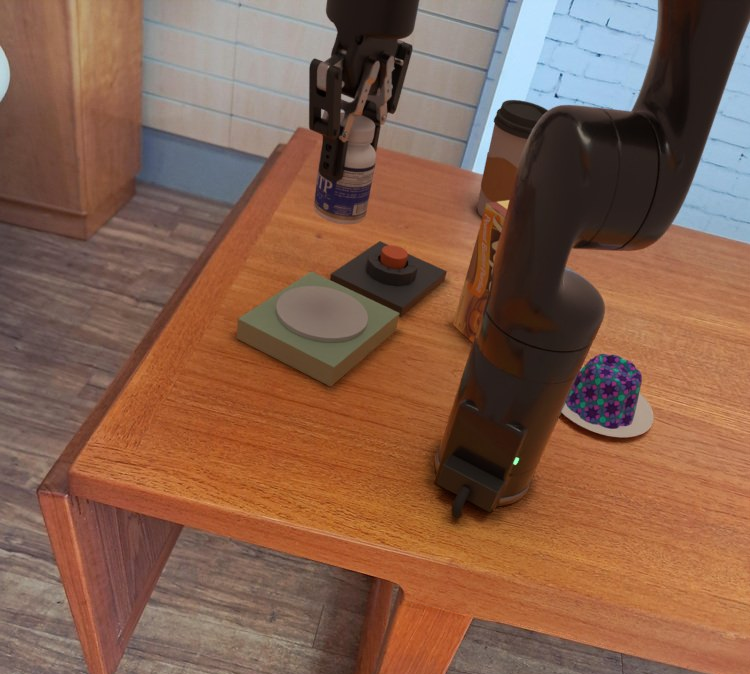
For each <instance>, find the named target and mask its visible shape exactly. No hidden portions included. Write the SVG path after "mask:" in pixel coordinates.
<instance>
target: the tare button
mask: <svg viewBox="0 0 750 674" xmlns="http://www.w3.org/2000/svg"><path fill="white" fill-rule="evenodd" d="M408 254H409V253H408V251H407V250H406V249H404V248H403V247H401V246H398V245H391V244H388V246H385V247H383V248H382V252H381V257H380V263H381V264H382V265H384V266H386V267H389V268H394V269H402V268H405V266H406V261H407V257H408Z"/></svg>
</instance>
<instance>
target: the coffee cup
mask: <svg viewBox="0 0 750 674" xmlns="http://www.w3.org/2000/svg"><path fill="white" fill-rule="evenodd" d="M501 103H502V104H501V106H500V108H498V109H497V111H496V114H495V116H494V118H493V123H494V124H493V125H494V126H493V128H492V134H491V138H490V142H489V147H488V151H487V154H486V159H485V164H484V169H483V173H482V177H481V182H480V189H479V195H478V198H477V204H476V208H477V213H478V215H479V216H480V217H482V218H483V214H484V211H485V207H486V204H487V203H492V202H499V201H506V200H510V196H511V192H512V188H513V184H514V180H515V176H516V172H517V169H518V165H519V162H520V158H521V155H522V153H523V150H524V147H525V144H526V142H527V140H528V138H529V135H530V133H531V131H532V129H533V128H534V126H535V125H536V123H537V122H538V120H539V119H540V118H541V117H542V116H543V115H544V114H545V113H546V112H547V111H548V110H549V109H547V108H545V107H543V106H541V105H539V104H536V103H534V102H530V101H525V100H520V99H507V100H504V101H503V102H501Z"/></svg>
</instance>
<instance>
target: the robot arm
mask: <svg viewBox="0 0 750 674" xmlns="http://www.w3.org/2000/svg"><path fill="white" fill-rule="evenodd" d="M419 5H420V0H326V5H325V15H326V17H327V19H328V20H329V21H330V22H331V23H333V26H334V27H335V29H336V37H335V40H334V44H333V47H332V48H331V52H330V57H329V58H328V59H326V60H325V61H323V60H320V59H318V58H313V59H312V60H311V61H310V63H309V68H308V129H309V130H310V131H311V132H314V133H317V134H319V135H321V136H322V144H321V147H322V150H321V149H320V153H321V158H320V157H319V161H320V165H319V164H318V169H319V173H320V175H321V176H322V177H324V178H327V179H329V180H331V181H333V182H337V181H339V180H341V179H342V178H343V172H344V166H345V159H346V153H347V146H348V141H347V139H348V137H349V134H350V131H351V128H352V125H353V122H354V119H355V117H357V116H360V115H362V116H365V117H367V118H369V119H370V120H372V121H373V122H374V124H375V131H374V138H373V141H372V143H370V145H371V146H372V147H373V148H374V150H375V152H376V153H377V151H378V150H377V149H378V146H379V145H378V144H379V139H380V133H381V127H382V126H383V125H384V124H386V122H387V119H388V114H391V115H394V114H395V113H396V111H397V109H398V105H399V101H400V98H401V94H402V91H403V86H404V83H405V79H406V76H407V72H408V69H409V65H410V61H411V58H412V54H413V47H414V46H413V44H410V43H408V42H406V41H403V40H402V39H407V38H409V36H411V35H412V34H413V32H414V31H415V30H414V29H415V26H416V21H417V16H418V10H419ZM656 18H657V19H656V30H655V35H654V40H653V45H652V50H651V54H650V58H649V63H648V65H647V69H646V73H645V75H644V79H643V82H642V85H641V87H640V90H639V92H638V96H637V98H636V101H635V103H634V105H633V107H632V109H631V110H623V109H613V108H606V107H595V106H587V105H577V104H561V105H560V104H559V105H556V106H554V107H551V108H549V109H547V110H548V111H547V112H546V113H545V114H544V115H543V116H542V117H541V118H540V119H539V120H538V122H537V123H536V125H535V126H534V128H533V129H532V131H531V133H530V135H529V138H528V140H527V142H526V144H525V147H524V150H523V153H522V155H521V158H520V162H519V165H518V169H517V172H516V176H515V180H514V184H513V188H512V192H511V196H510V200H509V204H508V208H507V212H506V216H505V220H504V224H503V227H502V231H501V235H500V238H499V242H498V245H497V249H496V253H495V257H494V263H493V272H492V280H491V286H490V291H489V294H488V297H487V300H486V304H485V307H484V310H483V313H482V316H481V319H480V323H479V326H478V329H477V332H476V334H475V338H474V341H473V343H472V344H471V347H470V351H469V354H468V357H467V359H466V363H465V366H464V369H463V372H462V375H461V379H460V381H459V385H458V388H457V392H456V394H455V397H454V400H453V404H452V407H451V409H450V413H449V415H448V418H447V422H446V424H445V429H444V431H443V435H442V438H441V440H440V443H439V445H438V447H437V449H436V453H435V457H434V468H435V471H436V474H435V476H434V480H433V482H434V483H435V484H436V485H437V486H440V487H442V488H443V489H445V490H447V491H449V492H450V493H453V494H455V495H456V496H455V498H454V501H453V504H452V506H451V517H452V518H453V519H454V520H459V519H461V518H462V516H463V513H462V512H463V508H464V505H465V503H466V501H468V502H470V503H472V504H473V505H475V506H476V507H479V508H481V509H483V510H485V511H486V512H488V513H489V512H491V513H492V512H494V511H495V509H496V508H497V507H501V506H502V507H503V506H508V505H511V504H514V503H517V502H518V501H520V500H522V498H523V497H524V496H526V494H527V493H528V491H529V489H530V486H531V484H532V482H533V477H534V475H535V472H536V470H537V468H538V466H539V464H540V461H541V459H542V457H543V455H544V452H545V450H546V448H547V446H548V443H549V441H550V439H551V437H552V434H553V432H554V430H555V428H556V426H557V423H558V421H559V419H560V417H561V414H562V410H563V407H564V405H565V403H566V401H567V398H568V396H569V394H570V392H571V389H572V387H573V385H574V383H575V381H576V378H577V376H578V374H579V372H580V370H581V368H583V365H584V363H585V361H586V359H587V357H588V354H589V352H590V349H591V347H592V345H593V343H594V340H596V337H597V336H598V333H599V330H600V328H601V326H602V323H603V321H604V318H605V313H606V305H605V304H606V303H605V300H604V298H603V296H602V294H601V292H599V290H598V289H597V287H595V286H594V285H593V284H592V283H591V282H590V281H589V280H588V279H587V278H585V277H584V276H583V275H581V274H580V273H579V272H577V271H575V270H573V269H572V268H570V267H567V265H568V260H569V258H570V255H571V252H572V250H588V251H589V250H590V251H607V252H608V251H612V252H613V251H614V252H634V251H641V250H645V249H647V248H649V247H651V246H653V245H654V244H655V243H657V242H658V241H660V239H661V238H662V237H663V236H664V235H665V234H666V233H667V232H668V230H669V229H670V228H671V226H672V224H673V223H674V221H675V220H676V218H677V216H678V214H679V213H680V211H681V209H682V207H683V205H684V203H685V201H686V199H687V196H688V194H689V192H690V189H691V186H692V184H693V182H694V178H695V177H696V173H697V170H698V167H699V165H700V162H701V159H702V156H703V154H704V150H705V147H706V145H707V141H708V139H709V136H710V133H711V130H712V128H713V125H714V121H715V119H716V116H717V113H718V109H719V107H720V104H721V101H722V98H723V95H724V94H725V93H724V92H725V89H726V87H727V84H728V80H729V78H730V75H731V72H732V70H733V66H734V64H735V61H736V58H737V55H738V52H739V49H740V46H741V45H742V42H743V39H744V37H745V34H746V32H747V29H748V27H749V25H750V0H657V17H656ZM342 95H343V96H346V97H348V98H351V99H353V100H352V101H346V100H344V99H342ZM322 111H323V112H322ZM342 111H343V113H344V112H345V114H344V117H343V120H342V123H341V125H340V117H341V113H342Z"/></svg>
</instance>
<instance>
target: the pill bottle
mask: <svg viewBox="0 0 750 674" xmlns="http://www.w3.org/2000/svg"><path fill="white" fill-rule="evenodd" d="M344 114H345V112H344V111H343V112H341V117H340V125H341V123H342V120H343V117H344ZM374 131H375V124H374V122H373V121H372V120H370V119H369V118H367V117H365V116H362V115H360V116H357V117H355V119H354V122H353V125H352V128H351V131H350V134H349V137H348V139H347V141H348V146H347V153H346V159H345V166H344V172H343V178H342V179H341V180H339V181H337V182H333V181H331V180H329V179H327V178H324V177H322V176H321V175H320V173H319V168H318V169H317V176H316V185H315V192H314V200H313V209H314V211H315V213H316V214H317V215H318V216H319V217H320V218H321V219H324V220H325V221H327V222H330V223H333V224H337V225H343V226H344V225H347V226H349V225H351V226H352V225H357V224H359V223H361V222H363V221H364V220H365V219H366V216H367V213H368V207H369V201H370V195H371V189H372V185H373V178H374V173H375V168H376V164H377V163H376V162H377V151H376V152H375V150H374V148H373V147H372V146H371V145H370V143H372V141H373V138H374ZM321 150H322V146H321V148H320V151H321ZM320 158H321V152H320V155H319V159H320ZM319 165H320V160H319V162H318V166H319Z"/></svg>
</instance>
